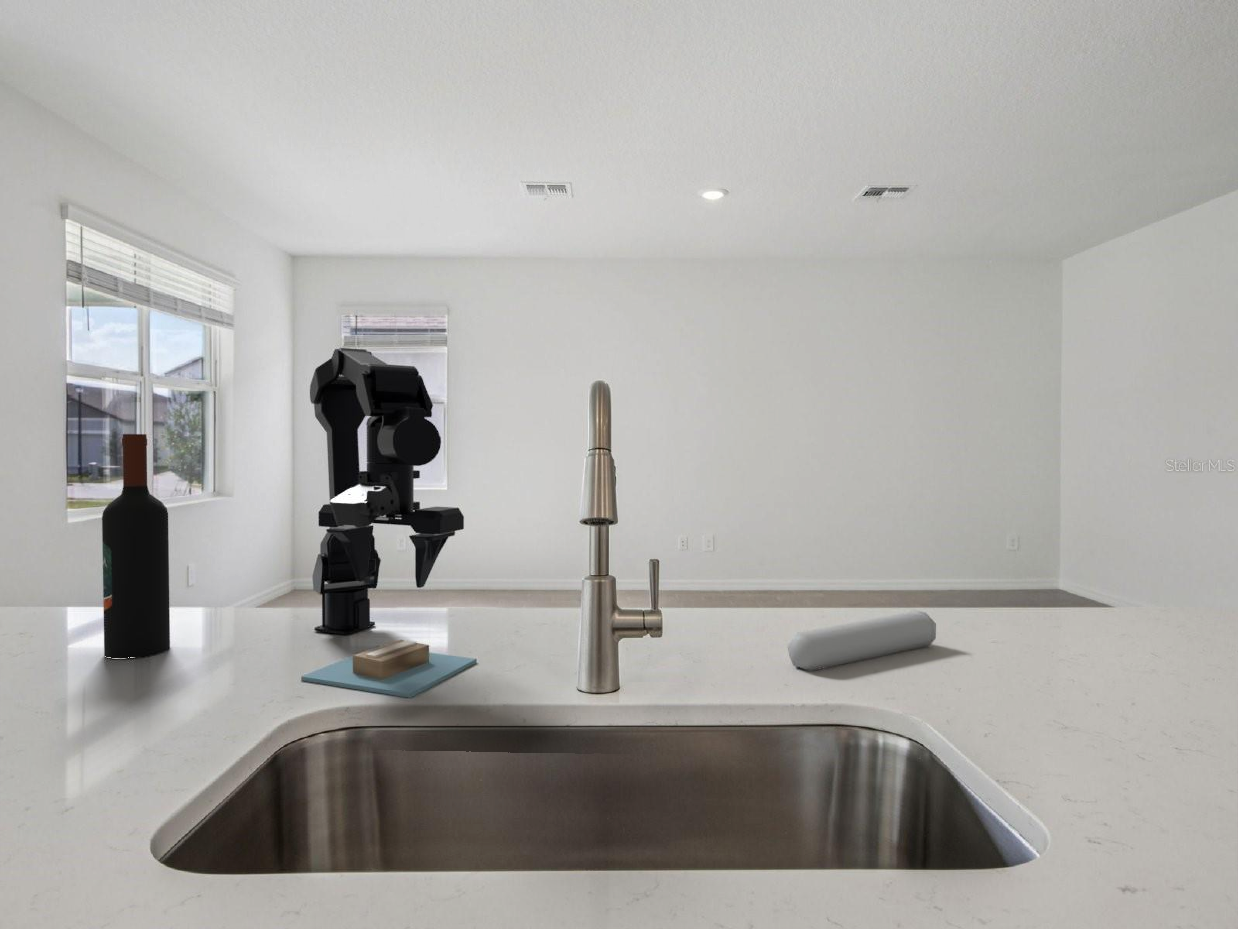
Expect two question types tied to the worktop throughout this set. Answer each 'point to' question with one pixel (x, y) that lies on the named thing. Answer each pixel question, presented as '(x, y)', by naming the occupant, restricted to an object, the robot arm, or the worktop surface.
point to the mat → (397, 684)
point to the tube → (861, 640)
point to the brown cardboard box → (390, 659)
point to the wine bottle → (135, 563)
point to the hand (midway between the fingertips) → (390, 584)
